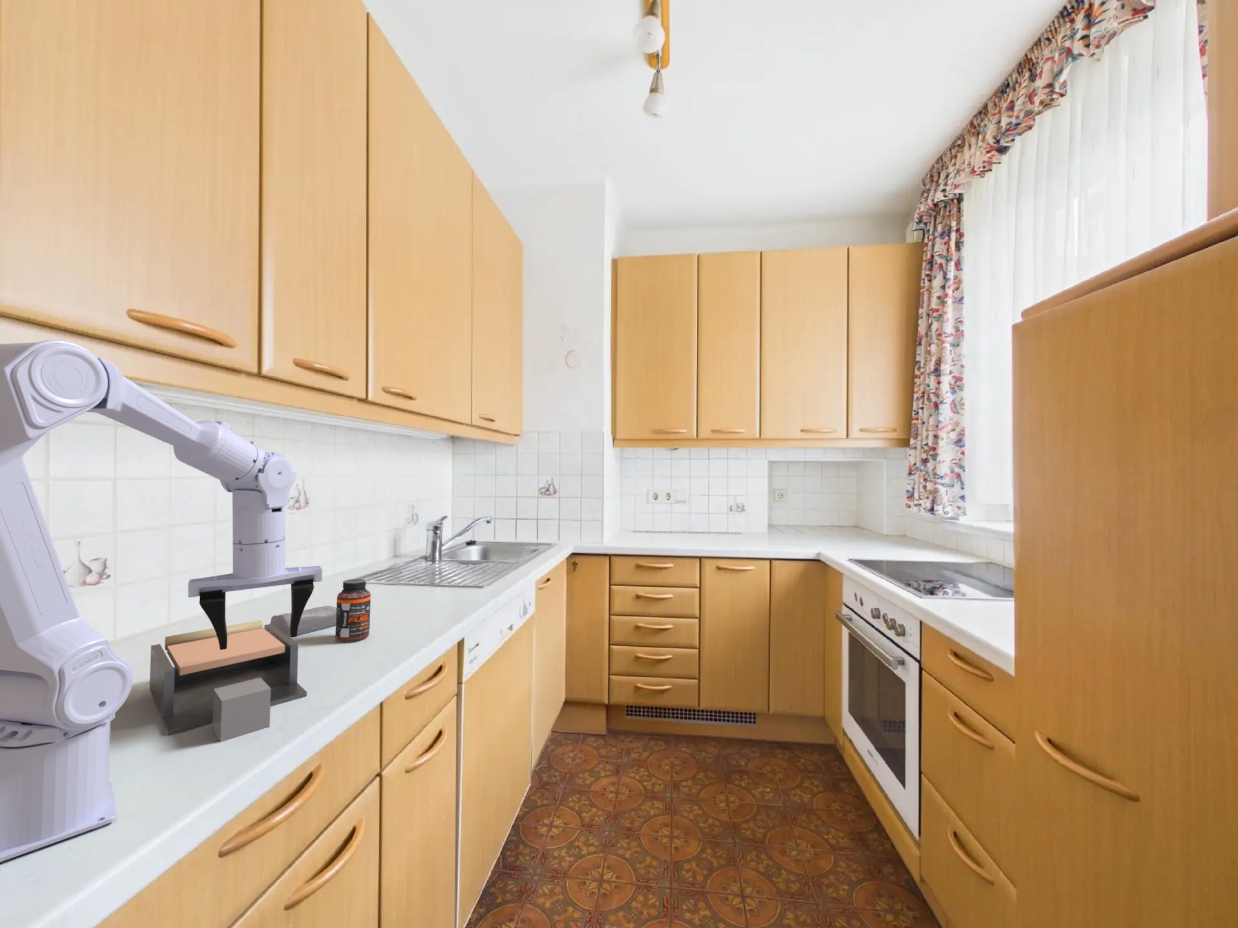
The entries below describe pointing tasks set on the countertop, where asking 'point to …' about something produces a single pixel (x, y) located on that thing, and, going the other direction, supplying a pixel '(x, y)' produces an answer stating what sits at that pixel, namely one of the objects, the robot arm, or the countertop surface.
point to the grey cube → (241, 708)
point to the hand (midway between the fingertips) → (259, 640)
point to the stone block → (307, 620)
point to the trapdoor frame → (219, 683)
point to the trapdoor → (205, 652)
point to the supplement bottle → (353, 611)
